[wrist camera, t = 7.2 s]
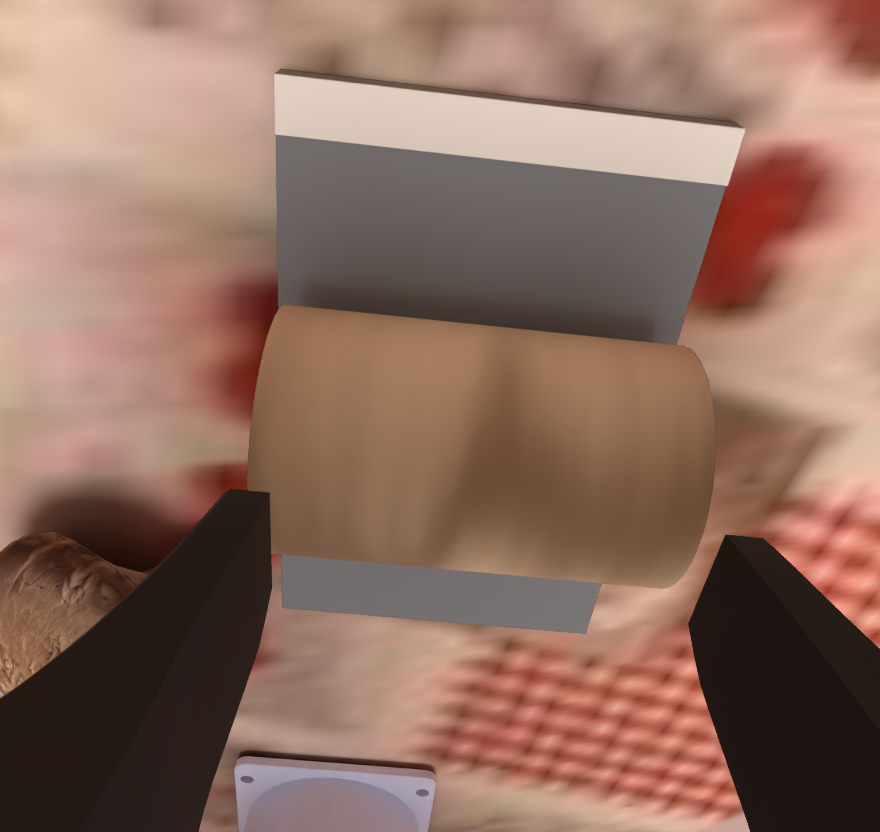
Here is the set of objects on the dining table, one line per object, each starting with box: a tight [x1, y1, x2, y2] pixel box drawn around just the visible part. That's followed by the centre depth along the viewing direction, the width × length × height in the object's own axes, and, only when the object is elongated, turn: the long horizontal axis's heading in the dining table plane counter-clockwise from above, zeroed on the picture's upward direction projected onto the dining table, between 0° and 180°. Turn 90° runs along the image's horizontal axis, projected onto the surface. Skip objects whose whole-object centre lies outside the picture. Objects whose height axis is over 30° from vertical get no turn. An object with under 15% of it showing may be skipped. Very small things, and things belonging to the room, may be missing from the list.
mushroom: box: [0, 531, 156, 695], centre depth 22 cm, size 8×8×6 cm
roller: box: [247, 305, 716, 589], centre depth 17 cm, size 6×9×6 cm, turn 84°
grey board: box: [274, 69, 746, 634], centre depth 20 cm, size 16×10×1 cm, turn 174°
